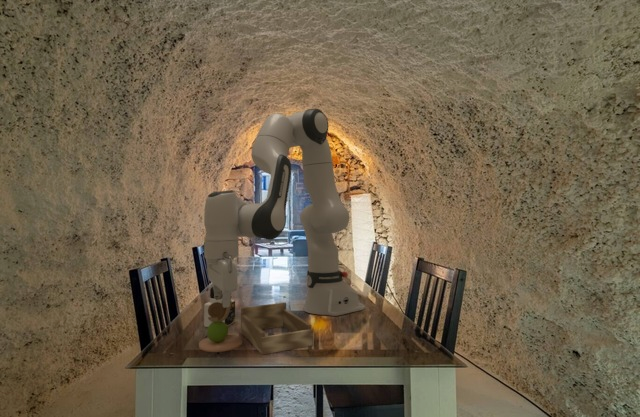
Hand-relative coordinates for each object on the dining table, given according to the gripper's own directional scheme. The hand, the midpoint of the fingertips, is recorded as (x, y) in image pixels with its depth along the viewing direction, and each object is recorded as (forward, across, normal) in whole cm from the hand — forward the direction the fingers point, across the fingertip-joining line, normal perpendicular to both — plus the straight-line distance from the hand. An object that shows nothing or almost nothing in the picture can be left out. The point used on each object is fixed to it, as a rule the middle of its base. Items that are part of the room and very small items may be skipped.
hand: (221, 302), depth 95 cm
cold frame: (+11, -2, -14) cm, 18 cm away
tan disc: (+11, 0, 0) cm, 11 cm away
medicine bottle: (+11, +18, -3) cm, 21 cm away
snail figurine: (+10, 0, +1) cm, 10 cm away
